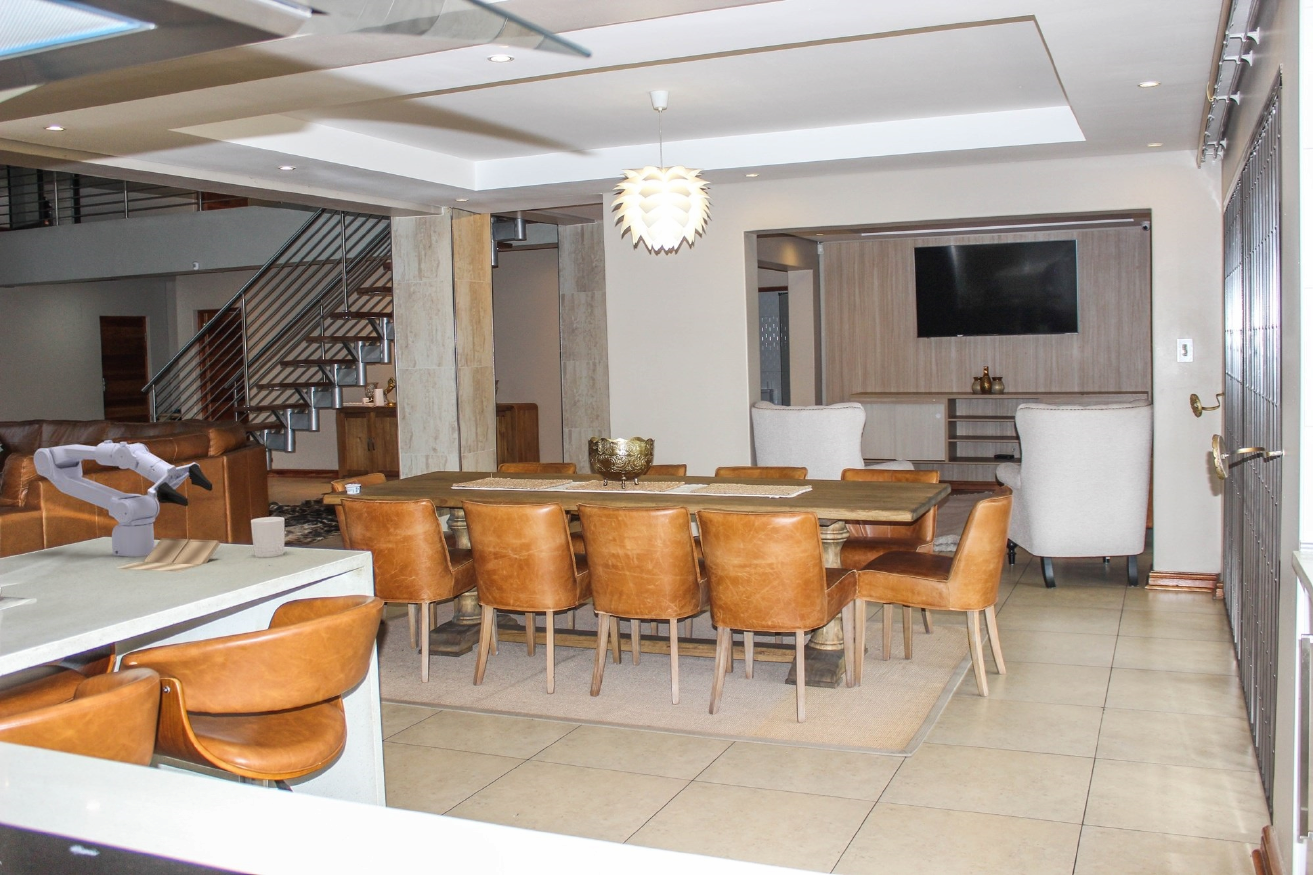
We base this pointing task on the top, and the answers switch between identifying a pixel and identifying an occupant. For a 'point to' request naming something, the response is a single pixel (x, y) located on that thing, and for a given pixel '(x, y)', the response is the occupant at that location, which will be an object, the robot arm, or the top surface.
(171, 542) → the plank
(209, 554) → the plank
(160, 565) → the floor board
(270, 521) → the white cup
